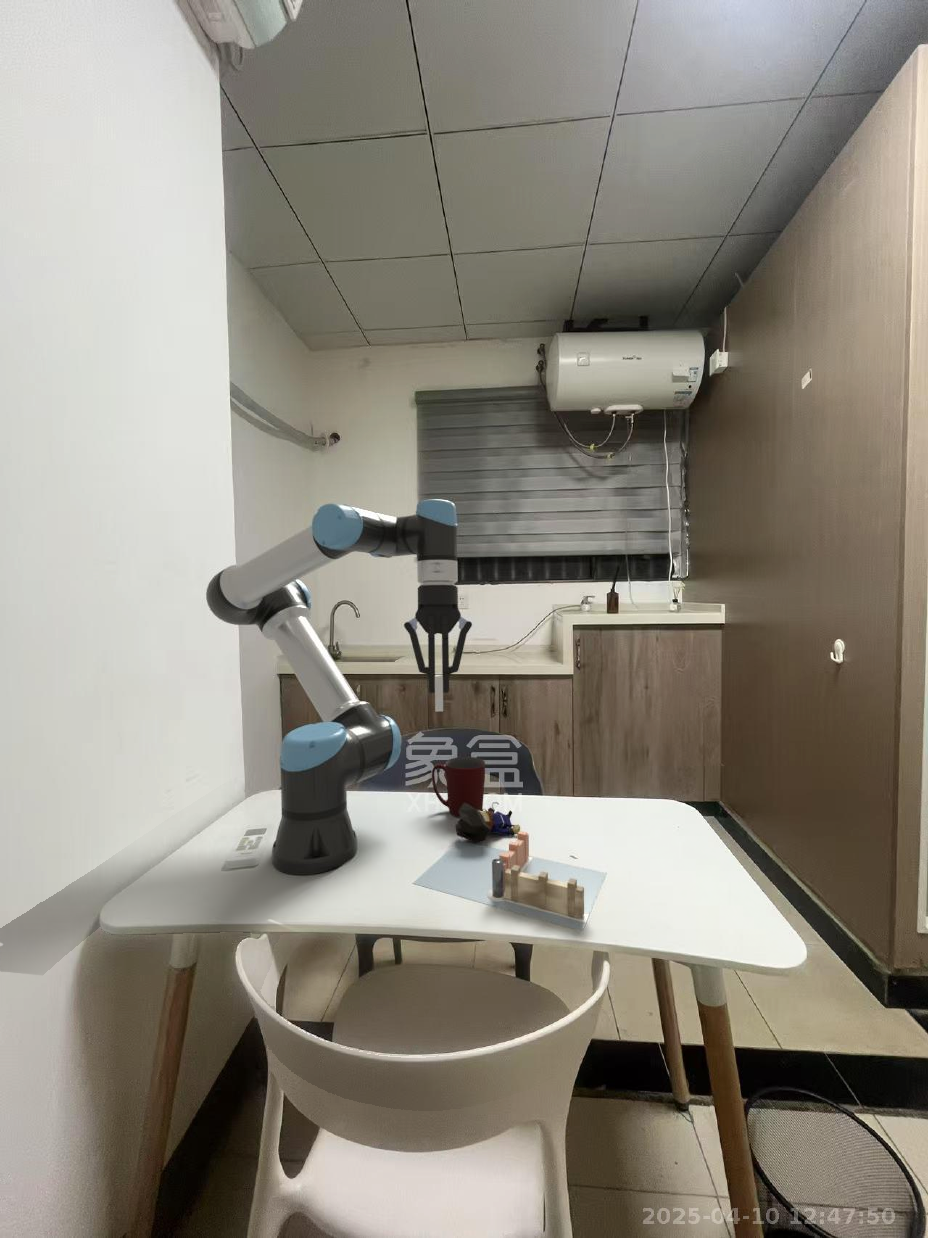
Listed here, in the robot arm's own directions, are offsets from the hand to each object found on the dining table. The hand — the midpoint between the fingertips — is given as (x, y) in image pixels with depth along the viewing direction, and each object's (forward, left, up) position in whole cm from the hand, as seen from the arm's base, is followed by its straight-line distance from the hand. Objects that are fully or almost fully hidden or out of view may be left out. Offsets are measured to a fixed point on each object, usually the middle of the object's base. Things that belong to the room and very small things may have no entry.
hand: (439, 709), depth 95 cm
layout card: (+16, -5, -26) cm, 31 cm away
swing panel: (+16, -3, -26) cm, 30 cm away
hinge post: (+16, -10, -26) cm, 32 cm away
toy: (+6, +9, -26) cm, 29 cm away
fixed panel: (+23, -10, -26) cm, 36 cm away
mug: (-5, +17, -27) cm, 32 cm away
